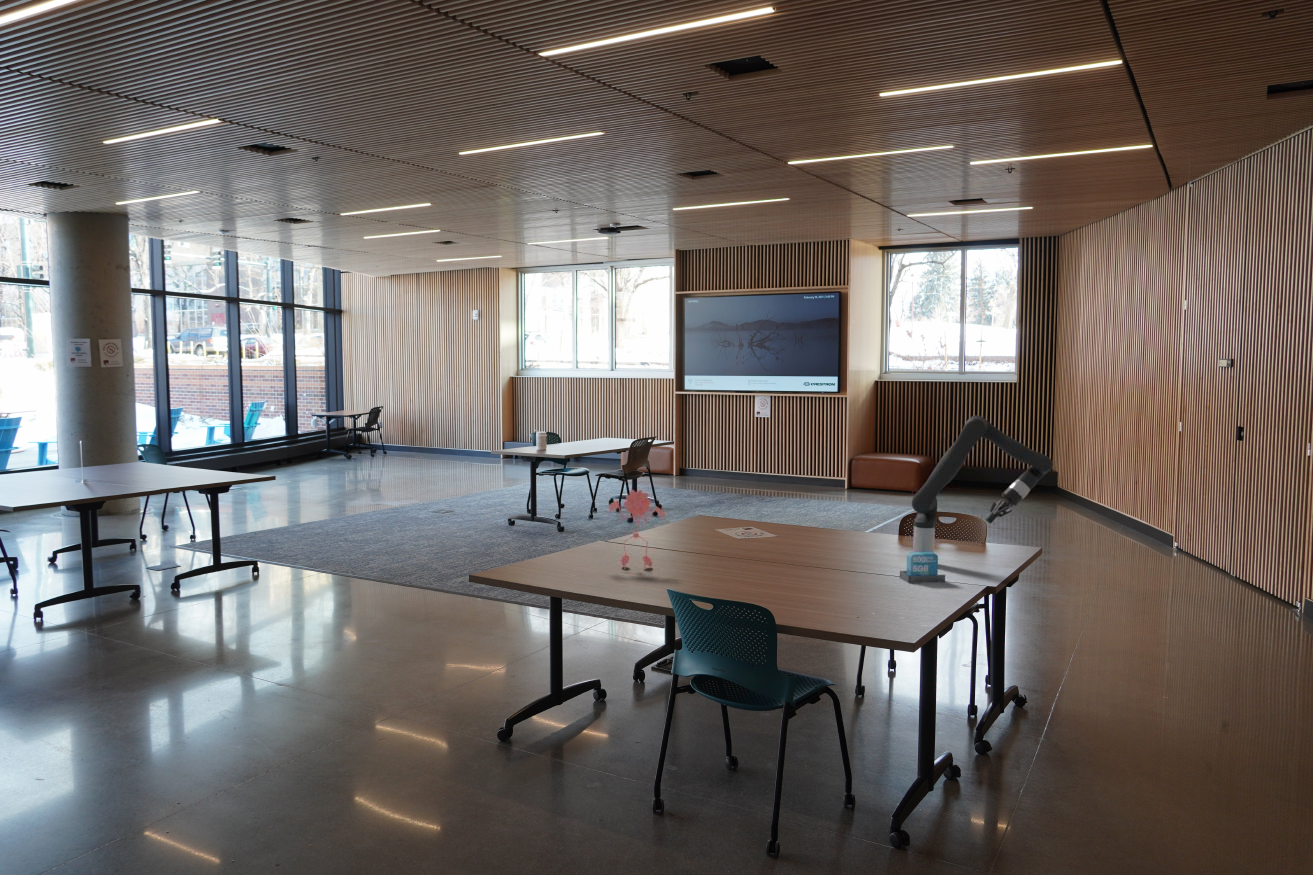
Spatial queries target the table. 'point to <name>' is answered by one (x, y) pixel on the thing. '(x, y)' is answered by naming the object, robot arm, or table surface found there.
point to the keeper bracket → (921, 578)
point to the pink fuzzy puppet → (636, 506)
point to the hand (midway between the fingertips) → (988, 521)
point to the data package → (922, 563)
